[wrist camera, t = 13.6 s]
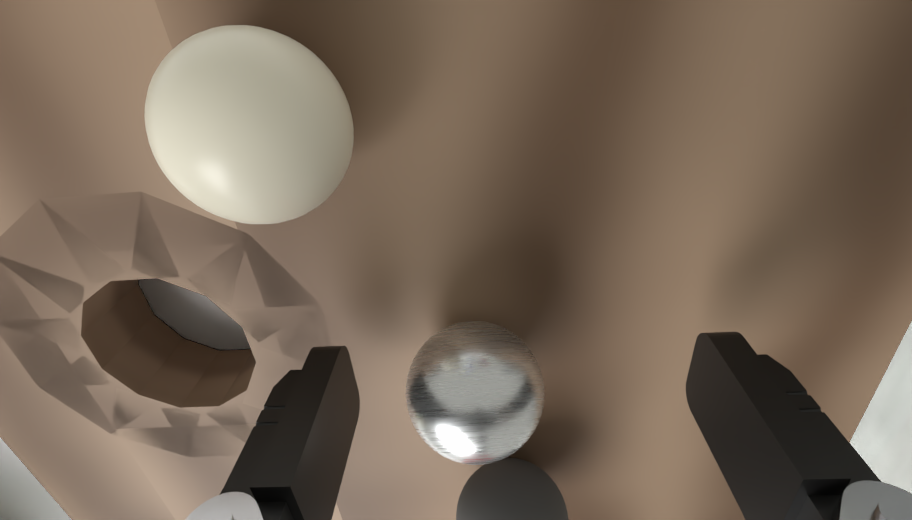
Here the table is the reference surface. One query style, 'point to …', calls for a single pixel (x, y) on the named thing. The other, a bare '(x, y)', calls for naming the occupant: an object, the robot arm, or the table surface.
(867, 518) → the robot arm
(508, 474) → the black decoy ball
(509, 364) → the steel ball
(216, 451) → the deck
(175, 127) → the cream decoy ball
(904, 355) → the table surface
